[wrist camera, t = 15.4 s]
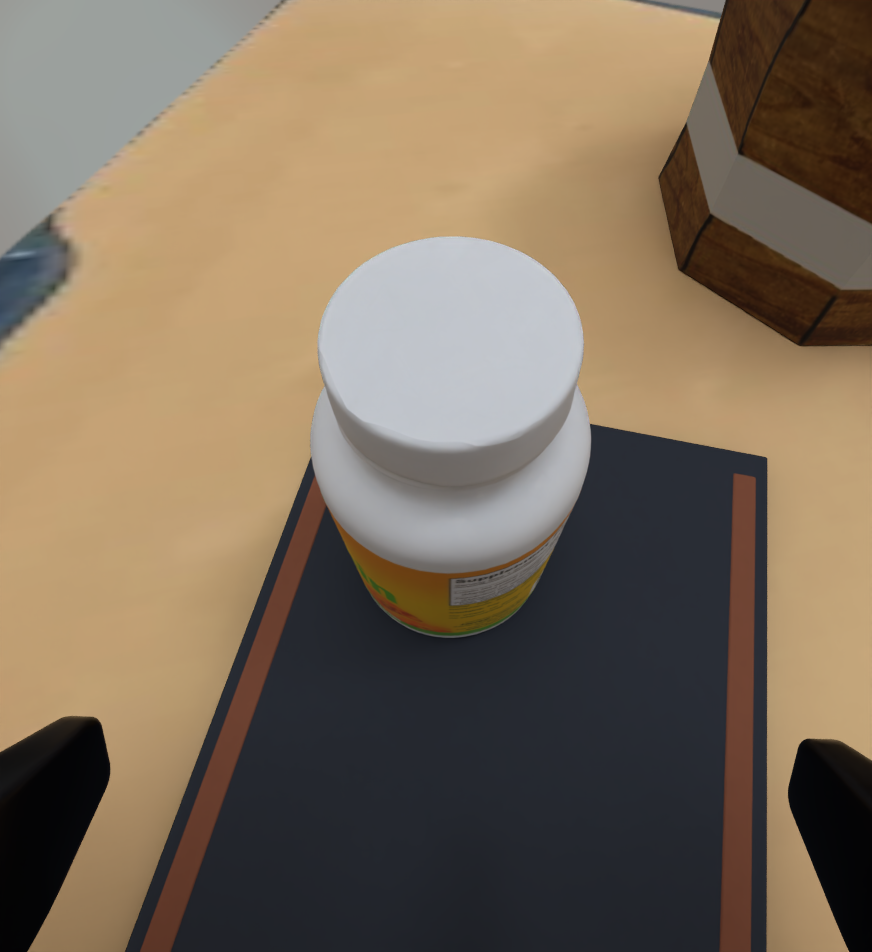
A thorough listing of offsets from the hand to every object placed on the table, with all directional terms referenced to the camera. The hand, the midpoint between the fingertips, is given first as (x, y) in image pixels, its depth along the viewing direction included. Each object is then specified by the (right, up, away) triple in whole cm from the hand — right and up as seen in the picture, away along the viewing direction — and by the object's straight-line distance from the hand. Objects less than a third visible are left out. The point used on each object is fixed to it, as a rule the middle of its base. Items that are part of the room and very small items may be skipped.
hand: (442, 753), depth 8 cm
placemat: (+1, -3, +8) cm, 9 cm away
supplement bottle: (0, +1, +10) cm, 10 cm away
